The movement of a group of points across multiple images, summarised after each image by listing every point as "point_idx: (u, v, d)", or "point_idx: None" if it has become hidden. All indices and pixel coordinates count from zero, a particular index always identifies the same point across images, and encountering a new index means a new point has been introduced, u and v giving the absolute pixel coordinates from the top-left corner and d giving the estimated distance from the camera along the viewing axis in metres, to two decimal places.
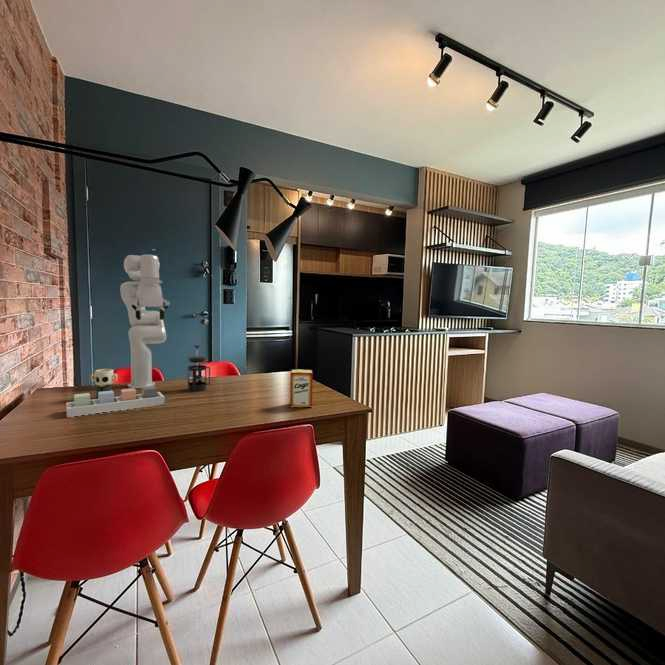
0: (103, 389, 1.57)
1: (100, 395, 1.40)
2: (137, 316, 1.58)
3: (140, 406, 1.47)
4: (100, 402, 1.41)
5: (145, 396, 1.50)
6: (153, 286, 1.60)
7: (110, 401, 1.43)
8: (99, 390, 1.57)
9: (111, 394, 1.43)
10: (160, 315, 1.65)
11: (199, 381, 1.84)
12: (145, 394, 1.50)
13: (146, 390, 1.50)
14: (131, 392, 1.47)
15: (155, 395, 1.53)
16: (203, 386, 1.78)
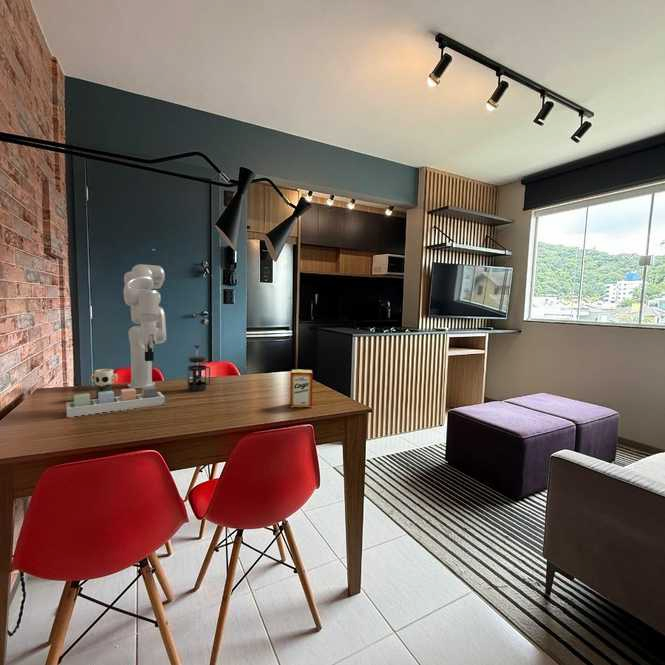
0: (103, 389, 1.57)
1: (100, 395, 1.40)
2: (151, 357, 1.52)
3: (140, 406, 1.47)
4: (100, 402, 1.41)
5: (145, 396, 1.50)
6: None
7: (110, 401, 1.43)
8: (99, 390, 1.57)
9: (111, 394, 1.43)
10: None
11: (199, 381, 1.84)
12: (145, 394, 1.50)
13: (146, 390, 1.50)
14: (131, 392, 1.47)
15: (155, 395, 1.53)
16: (203, 386, 1.78)
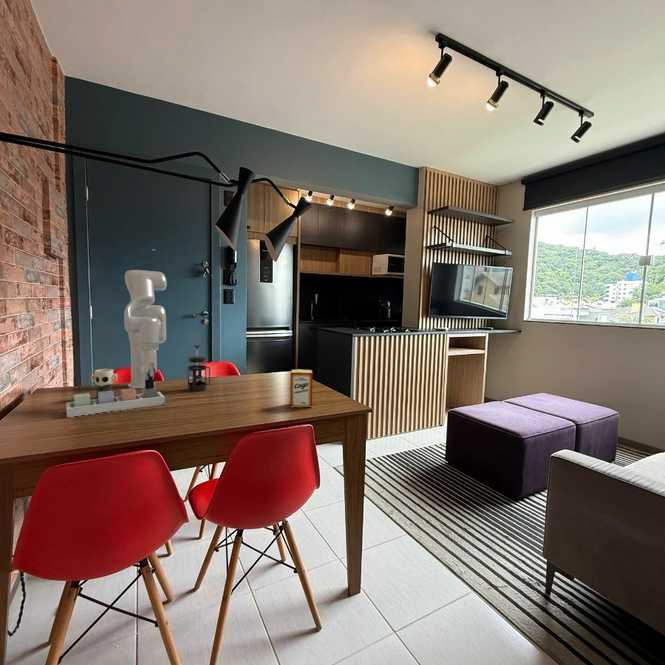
0: (103, 389, 1.57)
1: (100, 395, 1.40)
2: (151, 385, 1.53)
3: (140, 406, 1.47)
4: (100, 402, 1.41)
5: (145, 396, 1.50)
6: None
7: (110, 401, 1.43)
8: (99, 390, 1.57)
9: (111, 394, 1.43)
10: None
11: (199, 381, 1.84)
12: (145, 394, 1.50)
13: (146, 390, 1.50)
14: (131, 392, 1.47)
15: (155, 395, 1.53)
16: (203, 386, 1.78)
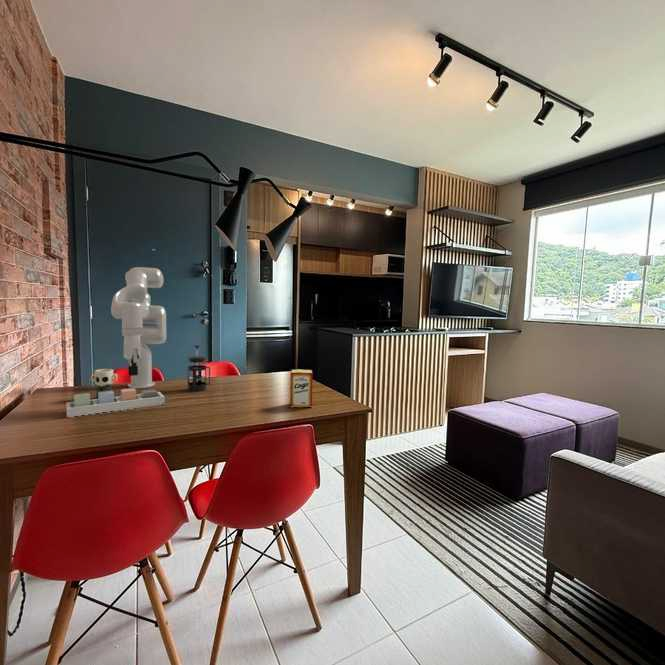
0: (103, 389, 1.57)
1: (100, 395, 1.40)
2: (135, 371, 1.48)
3: (140, 406, 1.47)
4: (100, 402, 1.41)
5: None
6: None
7: (110, 401, 1.43)
8: (99, 390, 1.57)
9: (111, 394, 1.43)
10: None
11: (199, 381, 1.84)
12: None
13: (146, 394, 1.51)
14: (131, 392, 1.47)
15: None
16: (203, 386, 1.78)
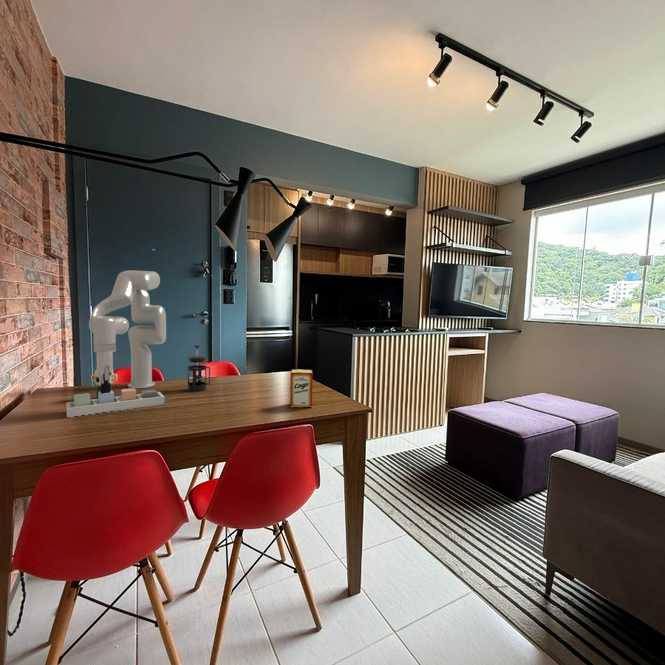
0: None
1: (100, 395, 1.40)
2: (108, 389, 1.43)
3: (140, 406, 1.47)
4: (100, 402, 1.41)
5: None
6: None
7: (110, 401, 1.43)
8: (99, 390, 1.57)
9: (111, 394, 1.43)
10: None
11: (199, 381, 1.84)
12: None
13: (146, 394, 1.51)
14: (131, 392, 1.47)
15: None
16: (203, 386, 1.78)
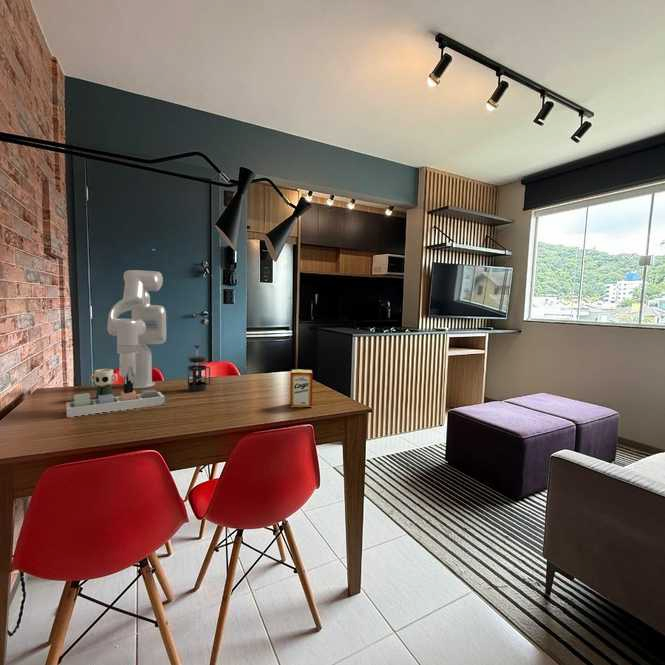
0: (103, 389, 1.57)
1: (100, 399, 1.40)
2: (130, 389, 1.48)
3: (140, 406, 1.47)
4: None
5: None
6: None
7: None
8: (99, 390, 1.57)
9: (111, 398, 1.43)
10: None
11: (199, 381, 1.84)
12: None
13: (146, 394, 1.51)
14: (131, 394, 1.47)
15: None
16: (203, 386, 1.78)
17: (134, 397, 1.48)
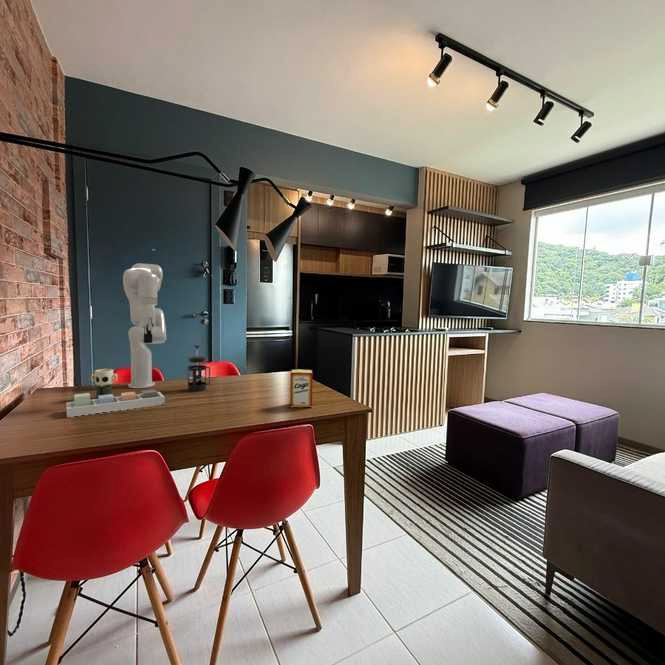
0: (103, 389, 1.57)
1: (100, 399, 1.40)
2: (150, 339, 1.56)
3: (140, 406, 1.47)
4: None
5: None
6: None
7: None
8: (99, 390, 1.57)
9: (111, 398, 1.43)
10: None
11: (199, 381, 1.84)
12: None
13: (146, 394, 1.51)
14: (131, 396, 1.47)
15: None
16: (203, 386, 1.78)
17: (134, 398, 1.48)
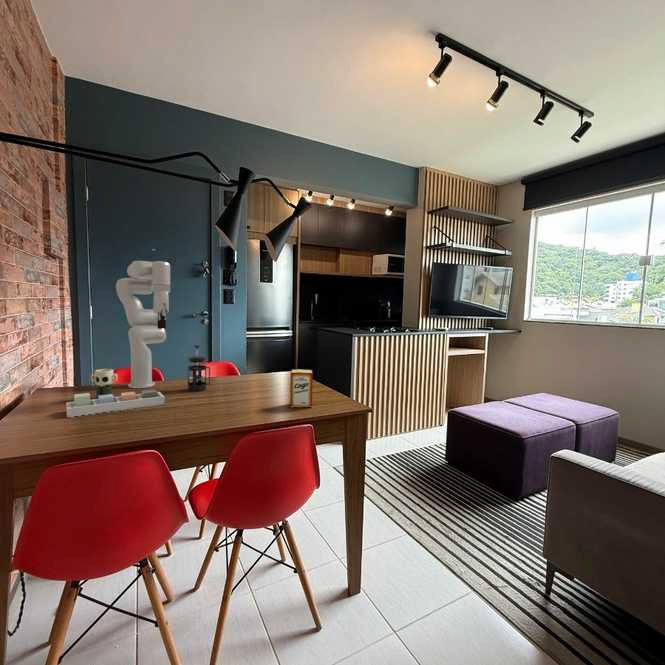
0: (103, 389, 1.57)
1: (100, 399, 1.40)
2: (164, 325, 1.62)
3: (140, 406, 1.47)
4: None
5: None
6: None
7: None
8: (99, 390, 1.57)
9: (111, 398, 1.43)
10: None
11: (199, 381, 1.84)
12: None
13: (146, 394, 1.51)
14: (131, 396, 1.47)
15: None
16: (203, 386, 1.78)
17: (134, 398, 1.48)
